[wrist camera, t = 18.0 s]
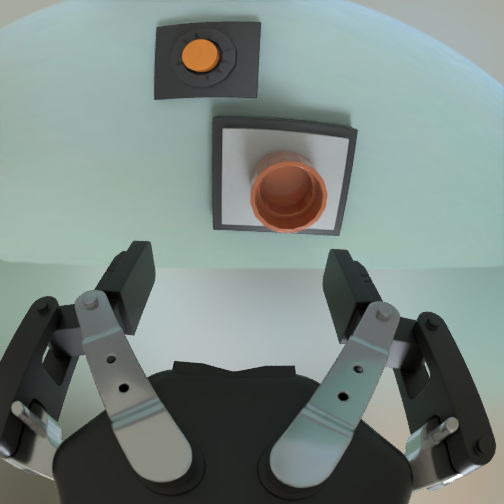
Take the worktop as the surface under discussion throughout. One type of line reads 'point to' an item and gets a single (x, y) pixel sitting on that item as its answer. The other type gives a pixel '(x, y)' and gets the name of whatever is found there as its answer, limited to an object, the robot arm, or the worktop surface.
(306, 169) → the copper cup
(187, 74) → the block
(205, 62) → the tare button
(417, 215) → the worktop surface
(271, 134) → the scale
